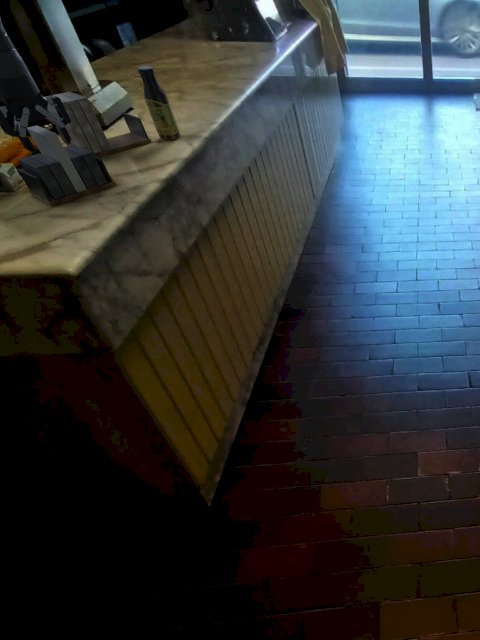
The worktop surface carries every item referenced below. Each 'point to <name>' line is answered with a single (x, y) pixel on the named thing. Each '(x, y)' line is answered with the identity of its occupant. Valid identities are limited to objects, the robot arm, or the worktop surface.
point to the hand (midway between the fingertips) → (50, 147)
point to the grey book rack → (63, 176)
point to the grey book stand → (97, 127)
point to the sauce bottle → (158, 105)
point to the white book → (56, 154)
